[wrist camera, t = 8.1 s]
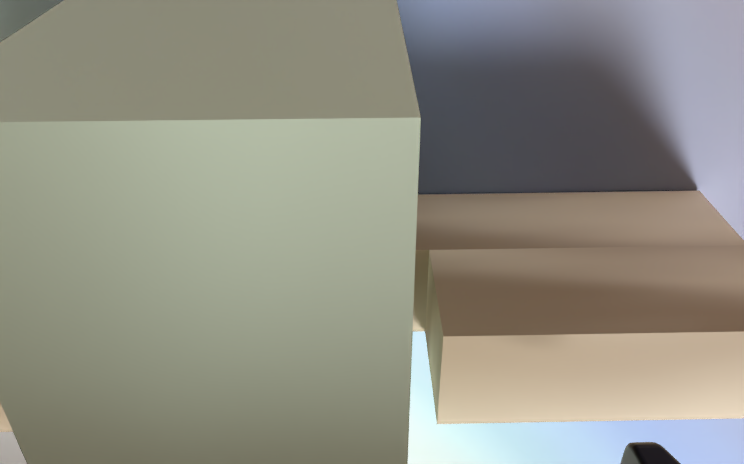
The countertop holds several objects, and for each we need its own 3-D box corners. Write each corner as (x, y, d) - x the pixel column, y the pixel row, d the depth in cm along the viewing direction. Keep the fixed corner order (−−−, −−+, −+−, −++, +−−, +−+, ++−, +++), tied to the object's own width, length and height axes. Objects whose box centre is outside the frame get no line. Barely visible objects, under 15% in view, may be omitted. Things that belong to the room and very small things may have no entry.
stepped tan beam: (676, 266, 15) (781, 417, 12) (-21, 277, 15) (-148, 434, 11) (699, 190, 14) (823, 330, 10) (-52, 201, 14) (-204, 347, 10)
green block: (373, 444, 18) (387, 979, 10) (301, 445, 18) (255, 983, 10) (371, -124, 11) (420, 116, 2) (248, -123, 11) (-121, 123, 2)
